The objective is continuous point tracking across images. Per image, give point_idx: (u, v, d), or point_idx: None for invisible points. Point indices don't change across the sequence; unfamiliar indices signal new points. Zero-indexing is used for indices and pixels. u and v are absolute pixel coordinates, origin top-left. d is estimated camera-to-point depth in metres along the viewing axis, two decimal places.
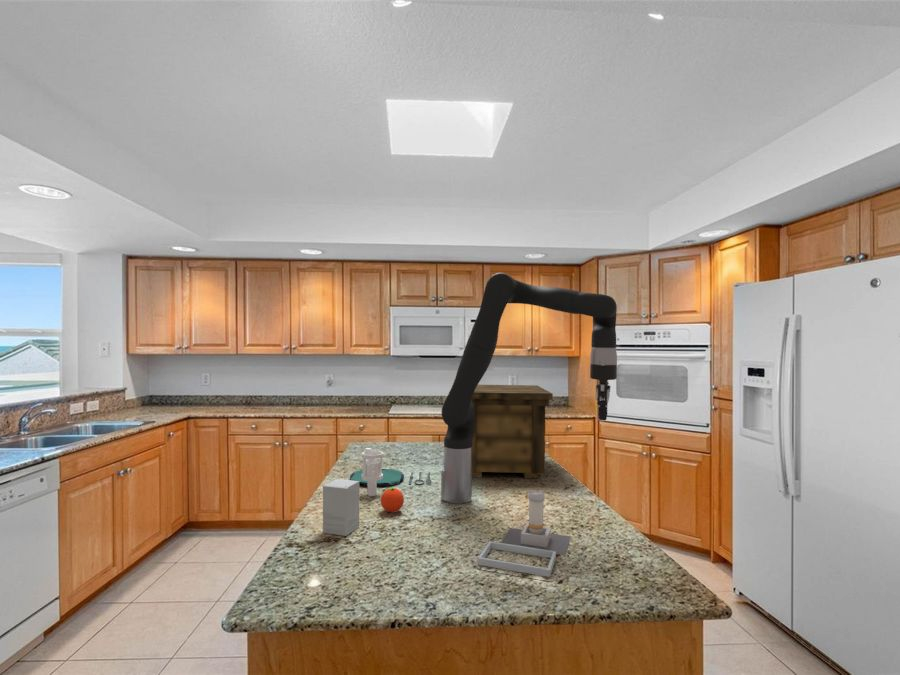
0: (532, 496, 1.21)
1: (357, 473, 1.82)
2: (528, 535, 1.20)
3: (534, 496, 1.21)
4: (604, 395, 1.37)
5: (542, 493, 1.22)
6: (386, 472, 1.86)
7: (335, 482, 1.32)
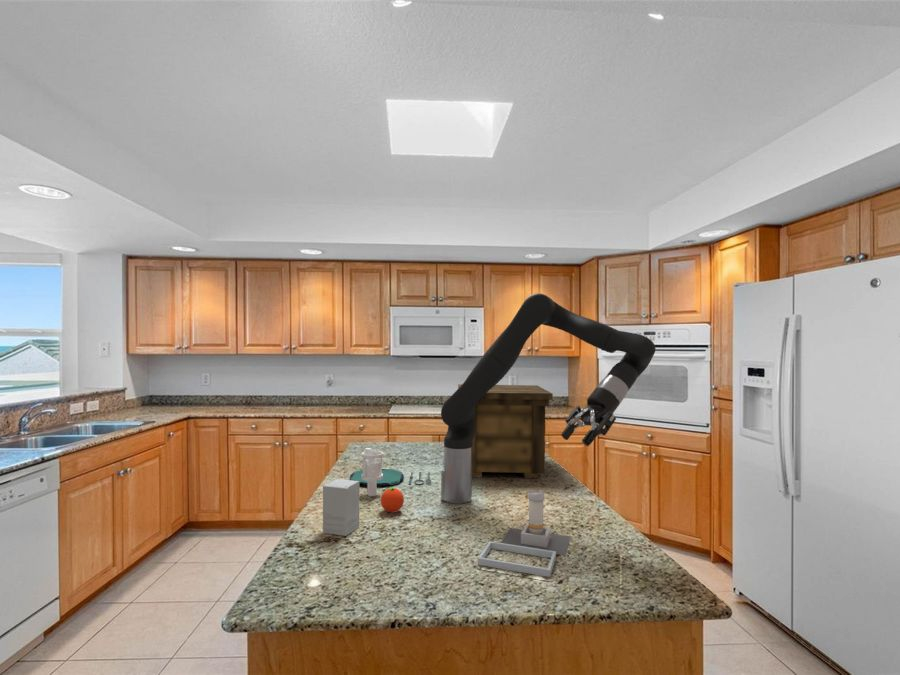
0: (532, 496, 1.21)
1: (357, 473, 1.82)
2: (528, 535, 1.20)
3: (534, 496, 1.21)
4: (609, 425, 1.24)
5: (542, 493, 1.22)
6: (386, 472, 1.85)
7: (335, 482, 1.32)
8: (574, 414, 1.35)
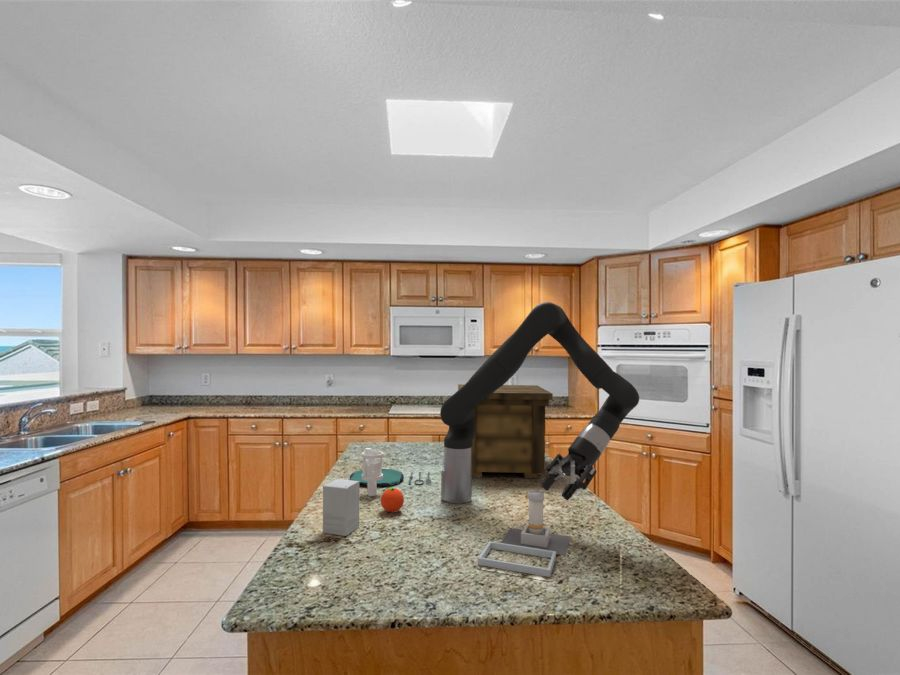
0: (532, 496, 1.21)
1: (357, 473, 1.82)
2: (528, 535, 1.20)
3: (534, 496, 1.21)
4: (589, 479, 1.21)
5: (542, 493, 1.22)
6: (386, 472, 1.85)
7: (335, 482, 1.32)
8: (555, 463, 1.32)
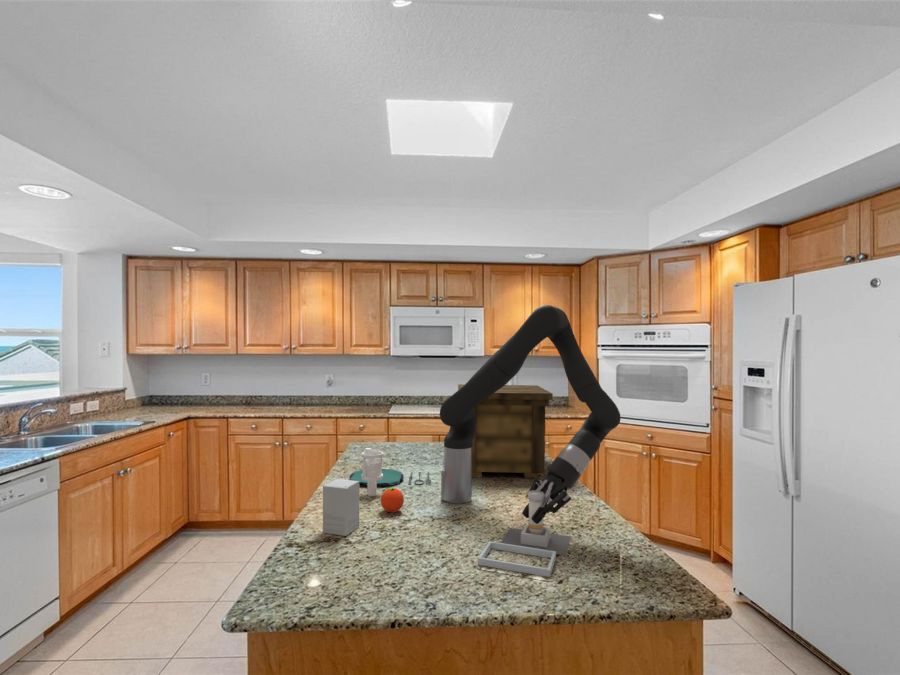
0: (532, 496, 1.21)
1: (356, 473, 1.82)
2: (528, 535, 1.20)
3: (534, 496, 1.21)
4: (560, 505, 1.19)
5: (542, 493, 1.22)
6: (385, 472, 1.85)
7: (335, 482, 1.32)
8: (534, 487, 1.28)
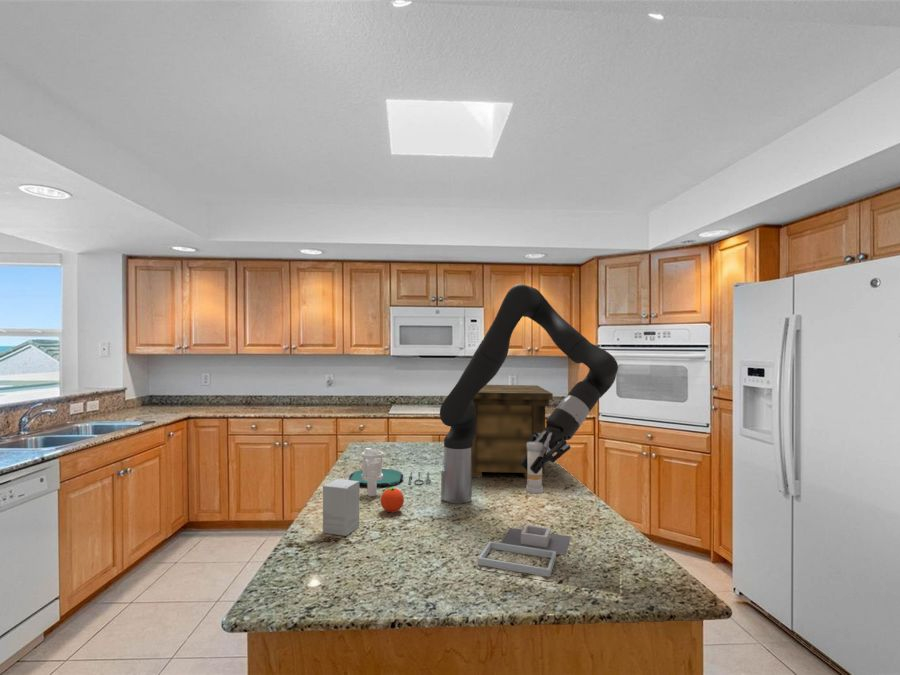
0: (530, 446, 1.19)
1: (356, 473, 1.82)
2: (528, 535, 1.20)
3: (532, 446, 1.19)
4: (560, 454, 1.17)
5: (540, 443, 1.20)
6: (385, 472, 1.85)
7: (335, 482, 1.32)
8: (533, 440, 1.26)
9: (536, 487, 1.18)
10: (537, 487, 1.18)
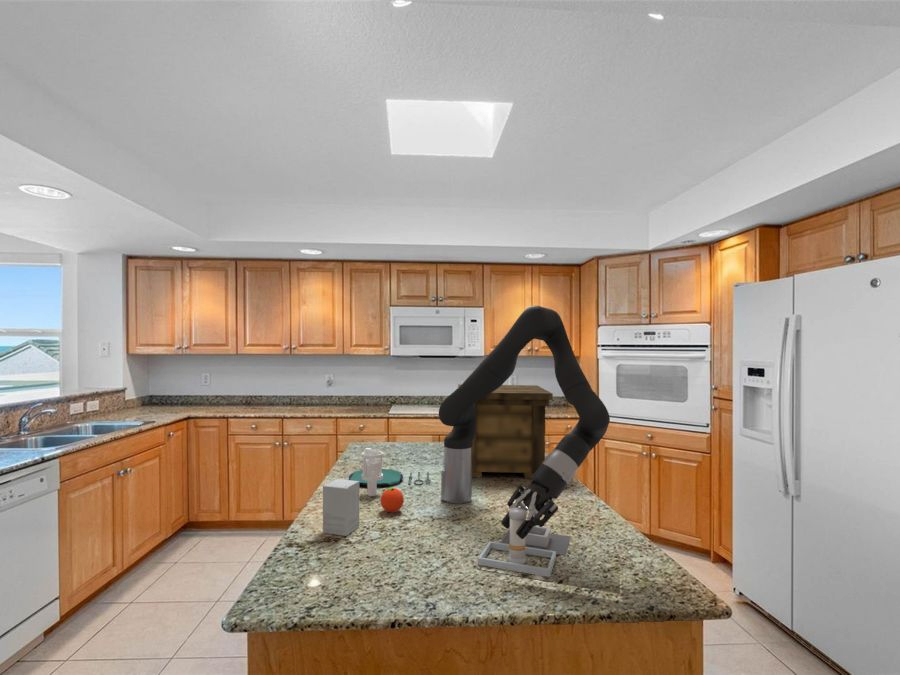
0: (513, 514, 1.10)
1: (356, 473, 1.81)
2: (528, 535, 1.20)
3: (515, 514, 1.09)
4: (548, 516, 1.07)
5: (524, 510, 1.11)
6: (385, 472, 1.85)
7: (335, 482, 1.32)
8: (517, 495, 1.17)
9: (518, 560, 1.09)
10: (520, 559, 1.09)
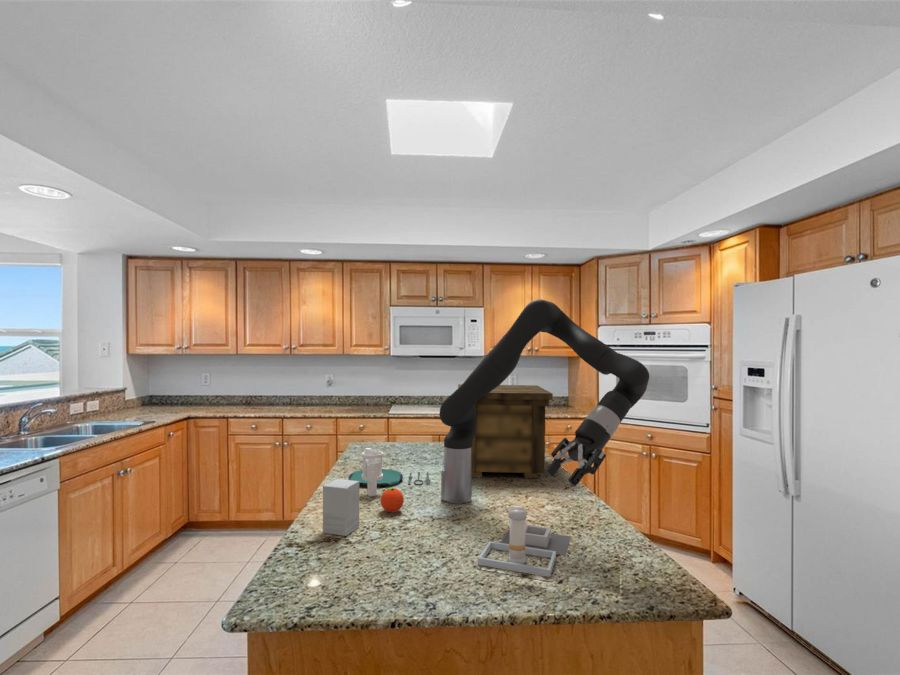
0: (512, 514, 1.10)
1: (355, 474, 1.81)
2: (528, 535, 1.20)
3: (515, 514, 1.09)
4: (598, 463, 1.12)
5: (524, 510, 1.11)
6: (384, 472, 1.85)
7: (335, 482, 1.32)
8: (561, 447, 1.23)
9: (518, 560, 1.09)
10: (519, 559, 1.09)
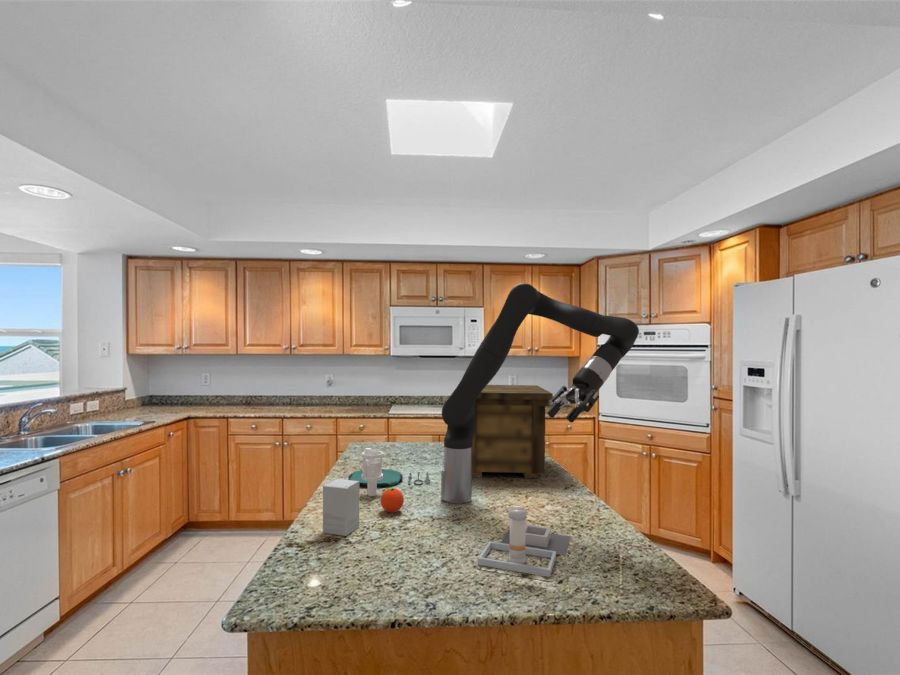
0: (513, 514, 1.10)
1: (355, 474, 1.81)
2: (528, 535, 1.20)
3: (515, 514, 1.10)
4: (592, 402, 1.29)
5: (524, 510, 1.11)
6: (384, 472, 1.85)
7: (335, 482, 1.32)
8: (560, 393, 1.40)
9: (518, 560, 1.09)
10: (519, 559, 1.09)
